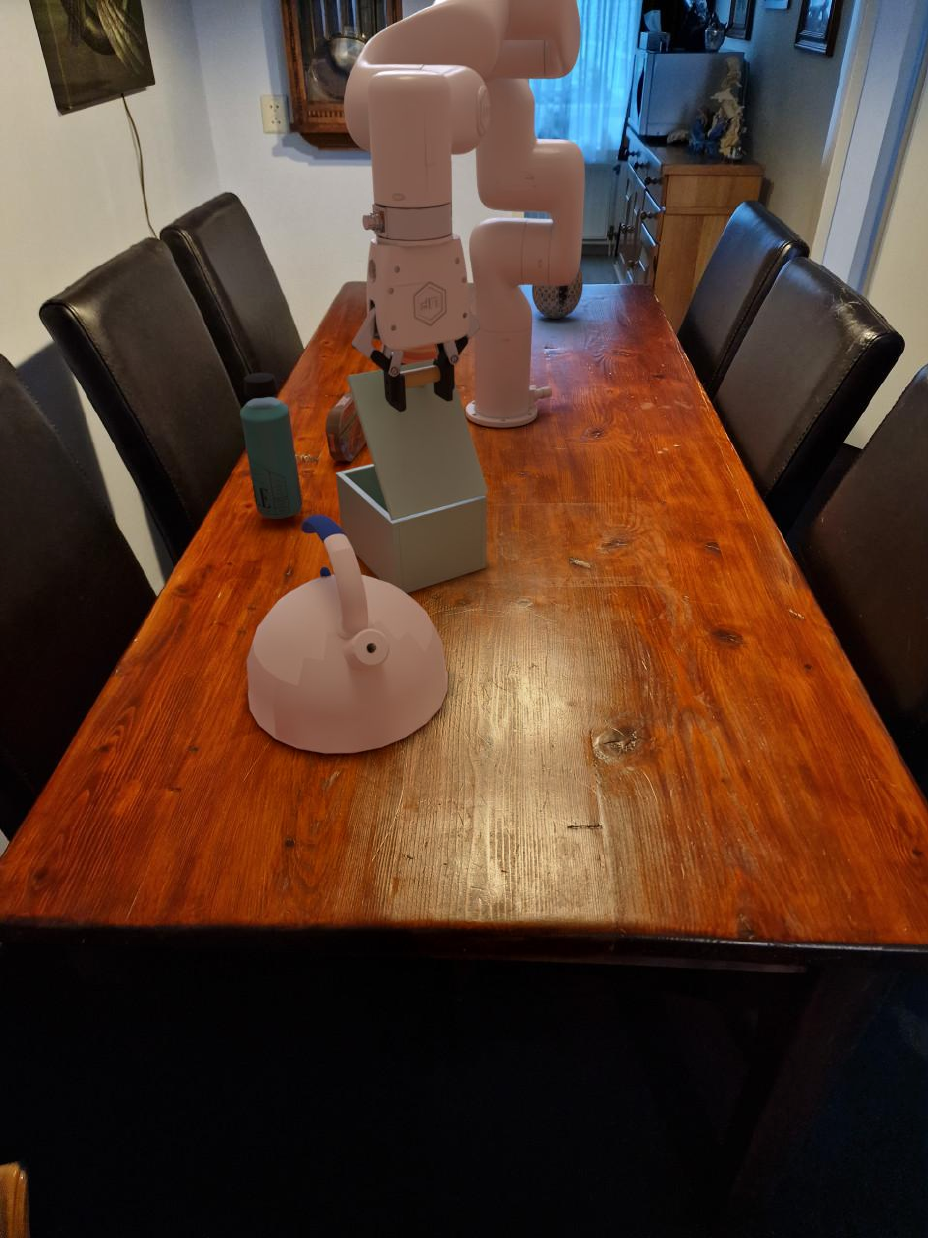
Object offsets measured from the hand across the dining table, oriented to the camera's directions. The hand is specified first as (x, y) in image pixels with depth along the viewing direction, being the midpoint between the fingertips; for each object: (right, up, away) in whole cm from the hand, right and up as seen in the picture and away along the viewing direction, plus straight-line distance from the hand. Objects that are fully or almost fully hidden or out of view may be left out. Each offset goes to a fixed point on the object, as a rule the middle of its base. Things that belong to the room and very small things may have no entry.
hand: (420, 400), depth 90 cm
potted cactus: (-4, +30, +80) cm, 85 cm away
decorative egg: (+27, +47, +104) cm, 118 cm away
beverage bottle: (-21, -10, +23) cm, 33 cm away
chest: (-2, -16, +15) cm, 22 cm away
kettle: (-7, -31, -7) cm, 33 cm away
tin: (-13, +3, +42) cm, 44 cm away
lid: (0, -3, +3) cm, 5 cm away
